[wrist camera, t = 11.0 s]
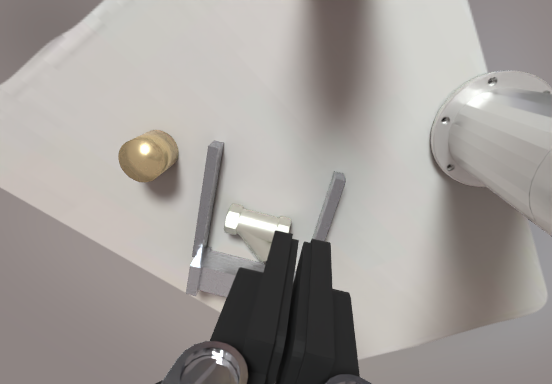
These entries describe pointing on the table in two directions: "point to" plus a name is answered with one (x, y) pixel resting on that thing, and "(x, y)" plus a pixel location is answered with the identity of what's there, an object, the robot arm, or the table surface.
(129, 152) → the cylinder
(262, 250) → the pipe fitting
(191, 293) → the pipe jig
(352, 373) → the robot arm
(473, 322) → the table surface
